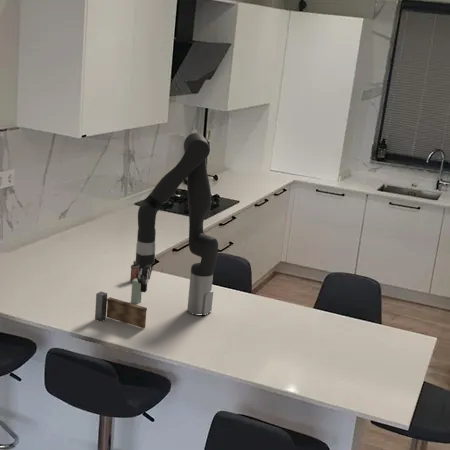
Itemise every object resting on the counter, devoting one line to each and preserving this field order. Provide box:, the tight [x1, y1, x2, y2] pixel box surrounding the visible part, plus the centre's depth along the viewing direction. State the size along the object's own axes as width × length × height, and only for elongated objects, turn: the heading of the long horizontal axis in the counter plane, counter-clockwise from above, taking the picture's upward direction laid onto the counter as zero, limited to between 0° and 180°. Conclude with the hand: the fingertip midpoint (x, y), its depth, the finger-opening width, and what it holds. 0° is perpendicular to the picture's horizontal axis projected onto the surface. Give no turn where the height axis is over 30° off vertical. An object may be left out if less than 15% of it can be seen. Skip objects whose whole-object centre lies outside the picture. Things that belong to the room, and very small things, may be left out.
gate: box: [106, 297, 148, 329], centre depth 270 cm, size 17×2×8 cm, turn 65°
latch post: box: [130, 278, 143, 305], centre depth 291 cm, size 3×3×10 cm
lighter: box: [129, 259, 140, 283], centre depth 316 cm, size 8×3×10 cm, turn 143°
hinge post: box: [94, 291, 108, 322], centre depth 270 cm, size 3×3×11 cm
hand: (143, 291), depth 280 cm, fingers closed
